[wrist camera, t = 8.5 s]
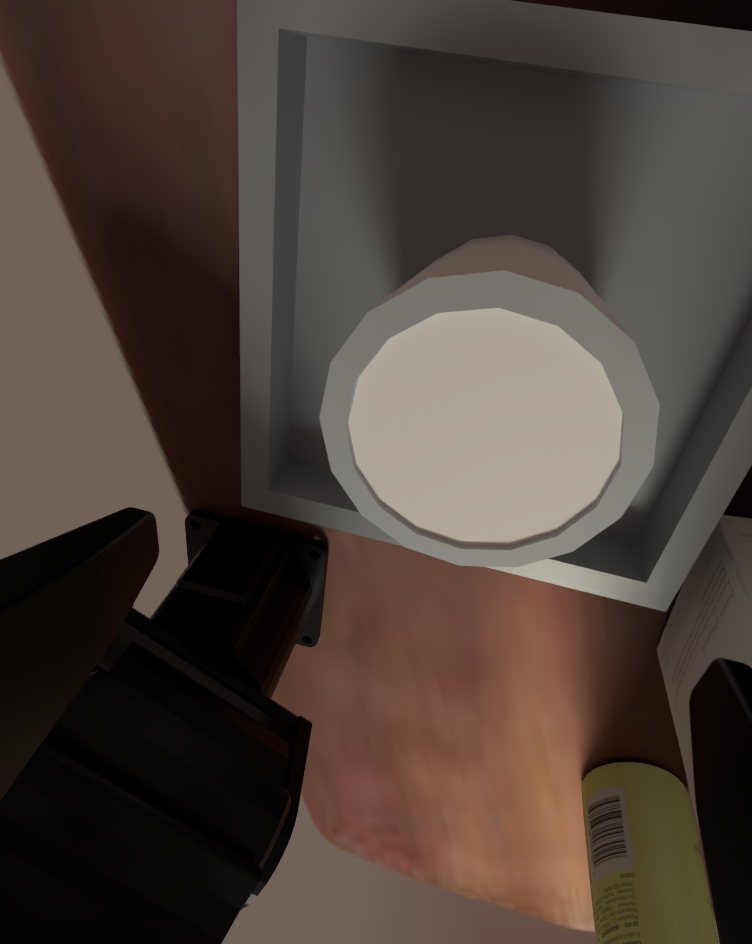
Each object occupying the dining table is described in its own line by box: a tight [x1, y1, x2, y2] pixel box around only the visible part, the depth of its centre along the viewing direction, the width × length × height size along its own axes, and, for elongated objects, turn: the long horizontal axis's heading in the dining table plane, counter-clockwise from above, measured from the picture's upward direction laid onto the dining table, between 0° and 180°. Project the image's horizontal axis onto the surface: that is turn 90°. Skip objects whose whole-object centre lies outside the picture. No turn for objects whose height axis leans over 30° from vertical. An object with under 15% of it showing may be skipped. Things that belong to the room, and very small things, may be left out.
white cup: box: [319, 234, 660, 567], centre depth 15 cm, size 7×7×7 cm
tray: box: [237, 0, 752, 612], centre depth 17 cm, size 15×15×3 cm
